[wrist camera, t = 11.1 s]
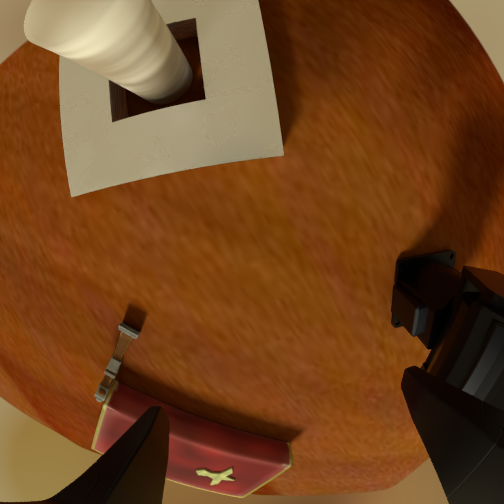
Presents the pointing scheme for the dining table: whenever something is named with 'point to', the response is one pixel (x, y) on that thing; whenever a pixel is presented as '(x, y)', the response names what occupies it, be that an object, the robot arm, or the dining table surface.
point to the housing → (180, 116)
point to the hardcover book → (197, 446)
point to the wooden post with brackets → (115, 360)
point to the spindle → (114, 43)
